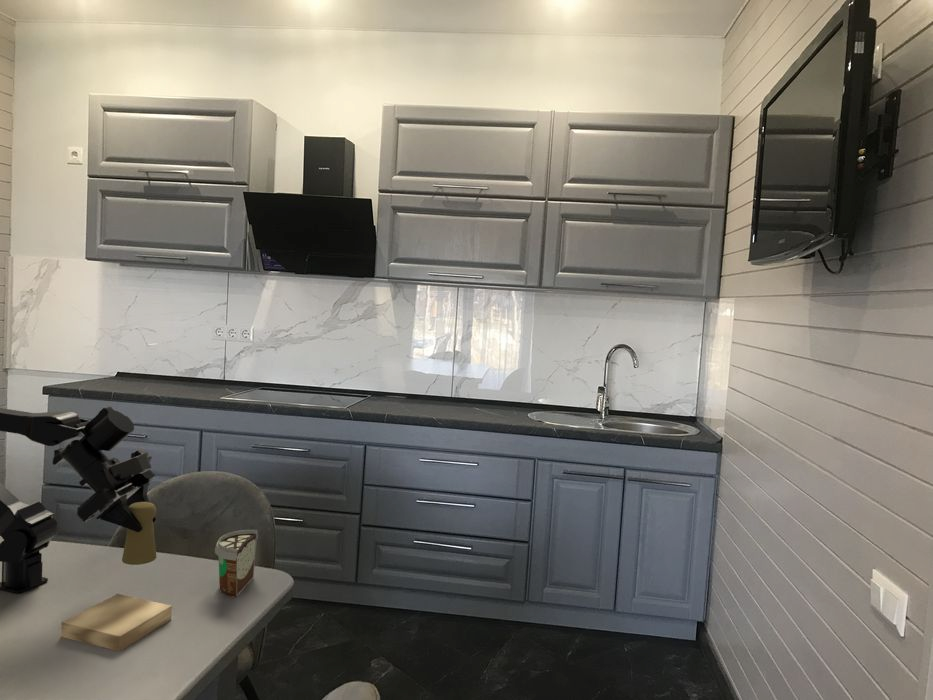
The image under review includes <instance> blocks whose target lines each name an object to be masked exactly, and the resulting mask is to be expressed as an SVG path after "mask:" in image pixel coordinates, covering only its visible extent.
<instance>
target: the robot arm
mask: <svg viewBox="0 0 933 700" xmlns="http://www.w3.org/2000/svg"><path fill="white" fill-rule="evenodd" d="M134 430H135V425H134V423H133V421H132V419H130V417H128V415H125V414H124V413H122V412H120V411H118V410H114V409H113V407H112V406H106V407H102V409H101V410H100V411H99V412H98V413H97V414H96V415H95V416H94V417H93V418H92V419H91V420H90V419H85V418H81V417H79V415H78V414H77V413H76V412H73V411H49V412H48V411H47V412H46V411H45V412H31V411H30V412H29V411H23V410H22V411H21V410H16V409H9V408H3V407H0V432H3V433H10V434H16V435H17V434H18V435H21V436H24V437H26V438H27V439H28V440H30V441H32V442H34V443H38V444H40V445H43V446H47V447H54V446H58V445H60V444H63V443H66V442H69V443H68V444H67V445H66V446H65V447H60V448H57V449H54V450H53V458H52V464H53V465H54V466H57V465H58V464H61V463H64V462H66V463H67V464H68V465H69V466H70V467H71V468H72V470H73V471H75V473H76V474H77V475H78V476H79V478H80V479H81V480H80V481H79V482H78V484H79V485H80V486H81V487H84V486H88V487H89V489H91V491H92V492H93V494H92V495H91V496H90V497H88V498H87V499H86V500H85V501H84V502H83V503H81V504H80V505H79V506H78V507H77V508H76V509H77V511H76V516H77V517H78V518H79V519H80V520H81V521H82V522H83V523H85V524H86V522H89V521H90V520H92V519H93V518H95V520H97V521H99V520H101V521H105V522H107V523H111V524H114V525H117V526H120V527H123V528H125V529H126V530H128V529H130V530H133V531H135V532H140V531H141V530H142V529H143V527H142V526H141V524H140V522H139V521H138V520H137V518H136V517H135V516H134V514H133V513H132V512H131V510H130V509H129V508H128V507H129V506H130V505H131V504H133V503H137V502H150V500H149V497H148V489H149V486H150V483H151V481H152V480H153V479H155V478H156V475H155V473H153V471H152V470H151V468H152V465H151V461H152V458H153V457H152V455H151V454H149V453H148V452H147V451H146V450H144V449H143V448H141V449H138V450H135V451H133V452H131V454H130V457H129V458H128V459H125V460H123V461H120V460H119V459H118V458H116V457H112V458H109V456H107V455H106V453H105V452H107V451H108V452H110V451H112V450H114V449H115V448H116V447H117V446H118V445H119V444H120V443H122V441H123V440H125V439H126V438H127V437H128V436H129V435H130V434H132V433H133V432H134ZM82 435H83V436H82ZM79 436H82V438H80V439H77V438H78V437H79ZM104 451H105V452H104ZM97 512H99V515H97V517H95V514H96V513H97ZM54 515H55V513H53V512H51V511H49V510H48V509H47V508H46V506H44V504H43V503H42V502H40V501H35V502H33V503H30V504H27V503H24V502H22V501H21V500H20V499H19V498H18V497H17V496H15V495H14V494H13V493H12V491H10V490H9V489H7V487H6V486H5V485H3V484H2V483H1V482H0V537H1V538H2V541H1V542H0V562H1V581H0V590H3V591H6V592H9V593H10V592H11V593H15V594H20V593H23V592H26V591H27V590H28V591H29V590H31V589H33V588H36V587H37V586H39V585H43V584H44V583H47V582H48V581H49V578H48V577H44V576H43V560H42V553H41V552H40V551H41V550H43V549H46V548H48V547H49V544H50V542H51V541H52V539H54V537H55V536H56V535H57V531H58V528H57V526H58V522H57V520H56V519H55V518H54ZM156 521H157V517H156V516H155V517H154V518H153V524H154V523H155V522H156Z"/></svg>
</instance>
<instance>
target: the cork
mask: <svg viewBox="0 0 933 700" xmlns="http://www.w3.org/2000/svg"><path fill="white" fill-rule="evenodd" d="M128 508H129V509H130V510H131V512H132V513H133V514H134V516H135V517H136V518H137V520H138V521H139V522H140V524H141V526H142V527H143V529H142V530H141V531H140V532H135V531H133V530H130V529H126V530H127V532H126V536H125V543H124V548H123V552H122V559H121V561H122V563H123V564H126V565H132V566H133V565H135V566H137V565H145V564H149V563H152V562H154V561H155V560H156V559H157V550H156V538H155V529H154V523H153V518H154V517H156V515H157V508H156V505H155V504H154V503H152V502H150V501H149V502H137V503H133V504H131V505H130V506H129V507H128Z"/></svg>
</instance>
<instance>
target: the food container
mask: <svg viewBox="0 0 933 700" xmlns="http://www.w3.org/2000/svg"><path fill="white" fill-rule="evenodd" d="M258 534H259V533H258V530H257V529H244V530H243V529H242V530H235V531H231V532H228V533H225V534H224V535H221V537H219V539H218V540H217V542H216V545H215V548H214V554H215V555H216V556H217V558H218V575H219V577H218V580H219V581H218V582H219V592H220V593H222V594H223V595H225V594H226V595H225V596H227V597H232V596H234V598H237V597H238V596H239V595H240V594H241V593H240V592H243V591H244V589H245V588H246V587H247V586H248V585H249V584H250V582H251V581H252V580H253V579H254V578H255V577H254V575H255V566H256V565H255V563H256V551H257V540H258V539H259V537H258V536H259V535H258ZM253 577H254V578H253ZM252 578H253V579H252ZM251 579H252V580H251ZM250 580H251V581H250ZM247 584H248V585H247ZM246 585H247V586H246ZM245 586H246V587H245ZM239 593H240V594H239ZM238 594H239V595H238Z"/></svg>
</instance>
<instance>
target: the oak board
mask: <svg viewBox="0 0 933 700" xmlns="http://www.w3.org/2000/svg"><path fill="white" fill-rule="evenodd" d="M172 607H173V605H171V604H167V603H161V602H156V601H152V600H148V599H142V598H140V597H139V598H138V597H135V596H129V595H124V594H120V593H116V594H115V595H112V596H110V597H109V598H106V599H104V600H103V601H100V602H98V603H97V604H95V605H93V606H91V607H89V608H87V609H85V610H82V611H81V612H79V613H77V614H75V615H73V616H71V617H69V618H67V619H65V620H64V621H62V622H61V633H60V634H61V635H60V637H61V638H65V639H69V640H73V641H78V642H82V643H85V644H89V645H93V644H94V645H93V646H98V647H101V648H106V649H109V650H113V651H117V652H121V651H122V650H123V649H125V648H127V647H129V646H131V645H132V644H134V643H135V642H137V641H138V640H140V639H142V637H145V636H146V635H148V634H149V633H151V632H153V631H155V630H156V629H158V628H159V627H161V626H162V625H164V624H165V623H167V622H169V621H170V620H172V609H173V608H172ZM144 635H145V636H144ZM139 638H140V639H139ZM136 640H137V641H136ZM131 643H132V644H131ZM128 645H129V646H128ZM126 646H127V647H126Z"/></svg>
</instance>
